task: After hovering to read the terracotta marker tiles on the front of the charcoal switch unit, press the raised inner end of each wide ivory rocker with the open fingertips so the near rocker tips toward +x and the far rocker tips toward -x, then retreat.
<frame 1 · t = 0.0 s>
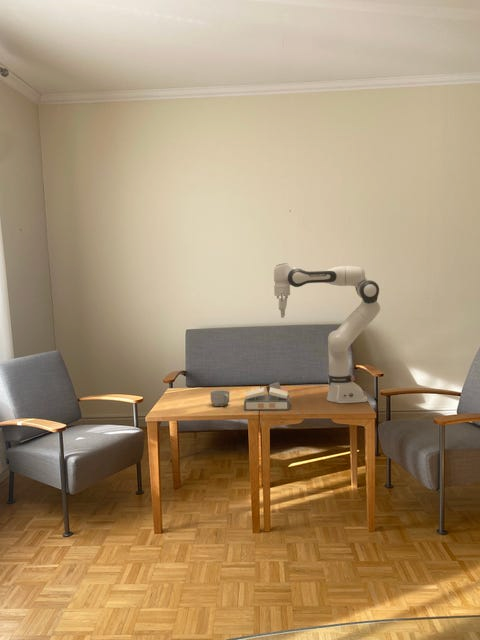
hand: (282, 316, 311), 48 cm above the table, fingers open, 8 cm apart
teacup: (221, 406, 308), on the table
switch unit: (267, 407, 301), on the table
far rocker: (255, 393, 301), point 8 cm above the table, hinge at 15.0°
near rocker: (278, 392, 299), point 8 cm above the table, hinge at -15.0°
electrical switch: (274, 399, 320), on the table
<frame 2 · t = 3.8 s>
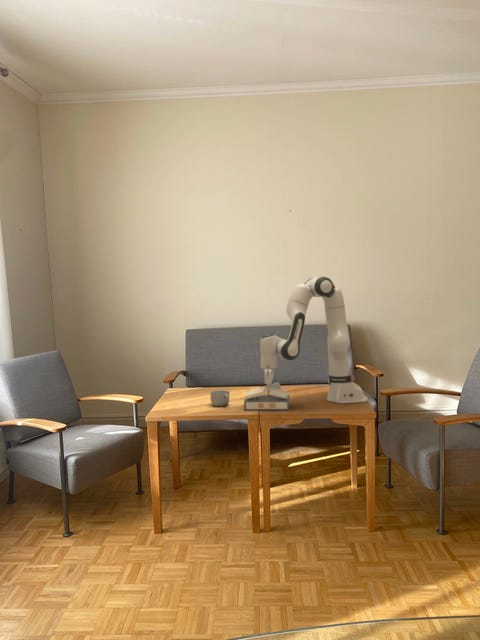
hand: (269, 389, 300), 10 cm above the table
near rocker: (278, 392, 299), point 8 cm above the table, hinge at -14.4°, touching gripper
everything else where it was.
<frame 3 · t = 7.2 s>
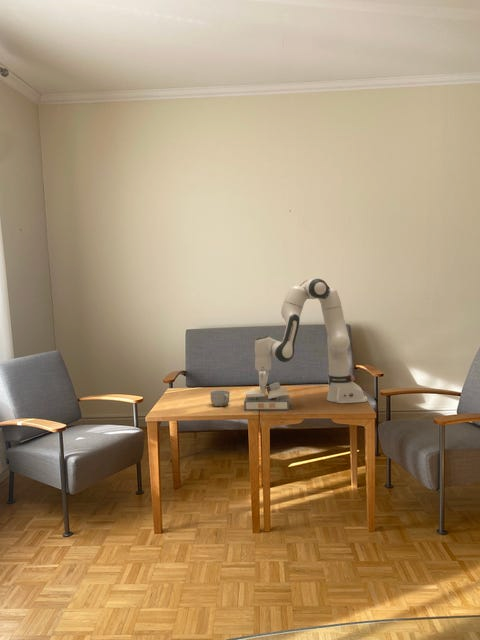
hand: (263, 390, 300), 9 cm above the table
far rocker: (255, 393, 301), point 8 cm above the table, hinge at 2.9°, touching gripper
near rocker: (277, 392, 299), point 8 cm above the table, hinge at 15.3°
everything else where it was.
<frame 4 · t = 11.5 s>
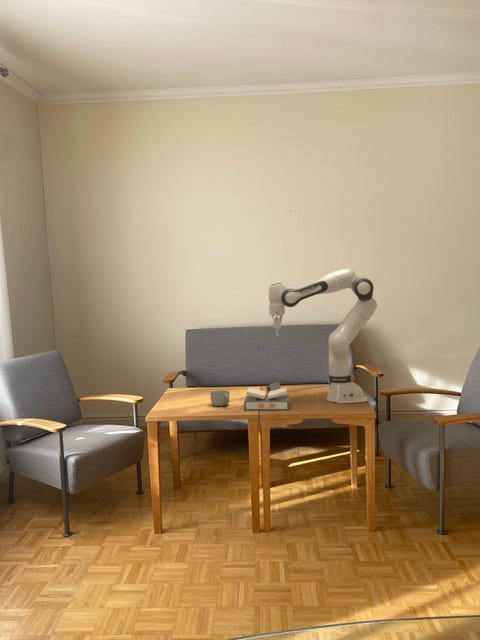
hand: (277, 335, 315), 37 cm above the table, fingers open, 8 cm apart
far rocker: (256, 393, 301), point 8 cm above the table, hinge at -15.2°
everything else where it was.
at the end: near rocker at +15° (first picture: -15°); far rocker at -15° (first picture: +15°) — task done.
